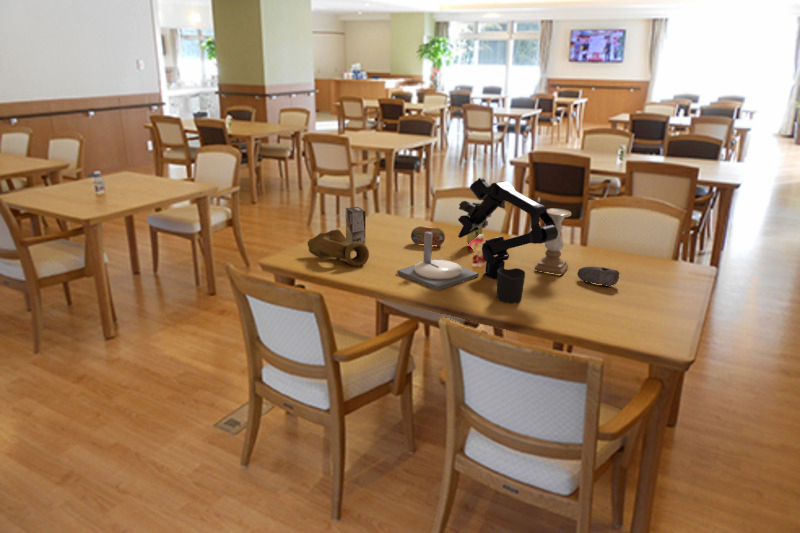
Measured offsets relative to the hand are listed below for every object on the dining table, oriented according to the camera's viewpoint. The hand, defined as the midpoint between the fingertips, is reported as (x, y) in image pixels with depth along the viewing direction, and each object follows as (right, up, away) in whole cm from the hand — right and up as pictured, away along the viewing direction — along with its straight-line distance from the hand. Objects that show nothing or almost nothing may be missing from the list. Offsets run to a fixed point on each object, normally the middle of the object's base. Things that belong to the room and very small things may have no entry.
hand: (459, 237), depth 232 cm
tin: (-11, -2, +34) cm, 35 cm away
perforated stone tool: (+51, -18, -8) cm, 54 cm away
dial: (-8, -13, -3) cm, 16 cm away
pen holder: (+15, -23, -23) cm, 36 cm away
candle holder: (+37, -13, +6) cm, 40 cm away
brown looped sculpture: (-48, -9, +12) cm, 51 cm away
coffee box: (-43, -2, +32) cm, 53 cm away
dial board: (-8, -15, -2) cm, 17 cm away
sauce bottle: (+10, -3, +33) cm, 35 cm away
